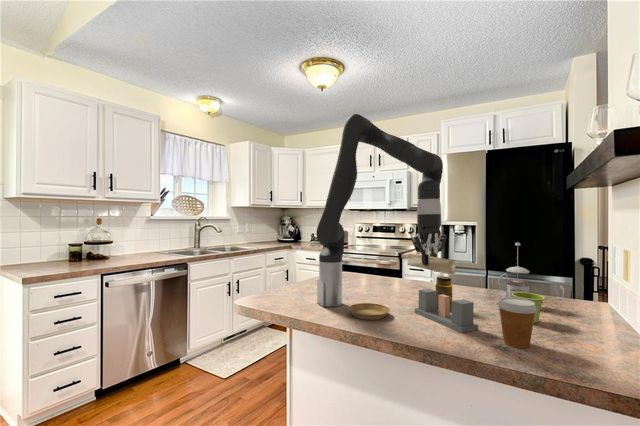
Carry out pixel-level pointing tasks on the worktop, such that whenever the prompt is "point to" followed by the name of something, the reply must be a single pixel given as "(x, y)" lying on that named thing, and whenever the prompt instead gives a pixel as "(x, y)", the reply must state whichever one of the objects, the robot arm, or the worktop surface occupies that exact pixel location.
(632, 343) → the worktop surface
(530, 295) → the plant pot
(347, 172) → the robot arm
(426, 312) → the display stand
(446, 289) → the condiment
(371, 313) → the plant saucer
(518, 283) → the french press
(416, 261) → the ash bar
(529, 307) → the disposable coffee cup
